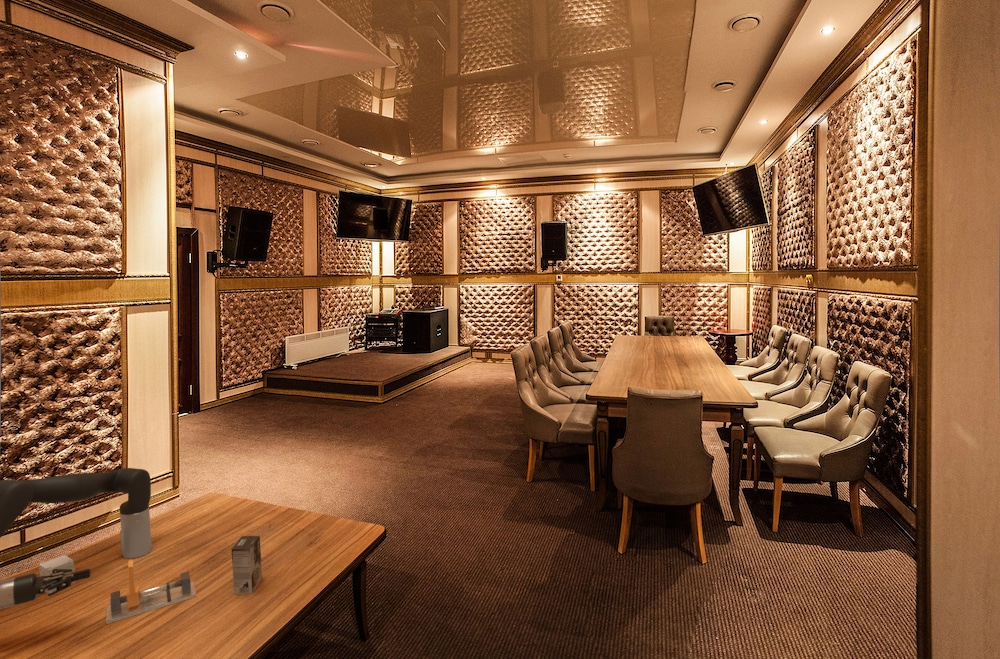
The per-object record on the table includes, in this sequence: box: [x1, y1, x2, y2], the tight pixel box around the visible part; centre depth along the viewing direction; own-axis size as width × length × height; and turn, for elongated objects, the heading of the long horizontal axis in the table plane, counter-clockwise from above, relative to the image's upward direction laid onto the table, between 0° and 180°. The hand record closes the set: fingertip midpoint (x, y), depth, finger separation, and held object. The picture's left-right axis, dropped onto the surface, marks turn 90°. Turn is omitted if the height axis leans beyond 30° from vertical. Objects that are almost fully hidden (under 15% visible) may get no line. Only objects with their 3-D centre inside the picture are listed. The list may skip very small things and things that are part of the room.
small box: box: [38, 554, 76, 577], centre depth 187 cm, size 8×8×5 cm
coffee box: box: [231, 535, 263, 595], centre depth 180 cm, size 9×6×16 cm
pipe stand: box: [105, 570, 197, 625], centre depth 171 cm, size 24×9×6 cm, turn 125°
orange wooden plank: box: [126, 559, 139, 608], centre depth 168 cm, size 3×5×13 cm, turn 35°
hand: (90, 572), depth 161 cm, fingers closed
